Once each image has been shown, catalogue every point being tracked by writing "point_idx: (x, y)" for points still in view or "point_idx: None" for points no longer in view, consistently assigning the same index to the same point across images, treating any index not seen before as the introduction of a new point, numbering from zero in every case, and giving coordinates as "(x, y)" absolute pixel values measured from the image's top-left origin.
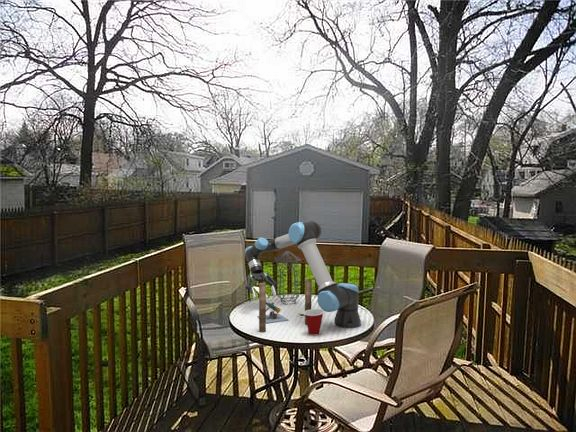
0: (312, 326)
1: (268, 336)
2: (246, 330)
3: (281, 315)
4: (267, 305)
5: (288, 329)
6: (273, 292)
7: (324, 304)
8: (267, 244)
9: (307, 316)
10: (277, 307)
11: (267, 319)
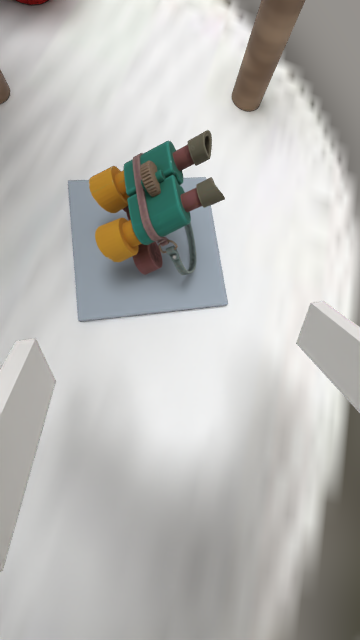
0: None
1: (235, 39)
2: (309, 132)
3: (78, 267)
4: (189, 212)
5: (125, 71)
6: (31, 402)
7: None
8: None
9: None
10: (112, 179)
11: None
